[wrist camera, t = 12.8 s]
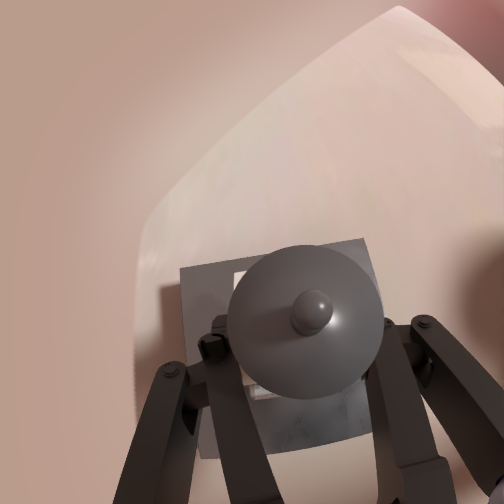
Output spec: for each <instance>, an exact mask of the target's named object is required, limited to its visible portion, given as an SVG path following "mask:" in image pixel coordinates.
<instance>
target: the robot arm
mask: <svg viewBox="0 0 504 504" xmlns="http://www.w3.org/2000/svg"><path fill="white" fill-rule="evenodd" d="M246 272H247V271H243V272H237V273H234V290H235V288H236V286H237V284H238V282H239V281H240V279H241V278H242V276H243V275H244V274H245V273H246ZM211 328H212V329H211V333H208V334H205V335H204V336H202V337H201V338H200V339H199V341H198V344H197V345H198V348H199V351H200V354H201V357H202V359H203V360H202V361H200V362H199V363H196V364H194V365H191V366H187V367H185V365H184V364H183V363H181V362H177V361H173V362H168V363H166V364H163V365H162V366H161V367H160V368H159V369H158V371H157V373H156V375H155V378H154V381H153V383H152V386H151V389H150V392H149V394H148V397H147V400H146V403H145V405H144V408H143V411H142V414H141V417H140V420H139V422H138V425H137V428H136V431H135V434H134V437H133V440H132V443H131V446H130V449H129V452H128V455H127V458H126V461H125V465H124V468H123V471H122V474H121V477H120V480H119V484H118V487H117V490H116V494H115V497H114V500H113V504H188V500H189V493H190V487H191V480H192V473H193V467H194V461H195V454H196V448H197V442H198V435H199V429H200V423H201V417H202V411H203V408H204V407H207V406H210V409H211V414H212V419H213V425H214V430H215V435H216V440H217V445H218V450H219V455H220V459H221V464H222V468H223V473H224V477H225V481H226V486H227V490H228V494H229V498H230V502H231V504H284V501H283V499H282V497H281V494H280V492H279V489H278V486H277V484H276V481H275V478H274V476H273V473H272V470H271V467H270V465H269V462H268V459H267V456H266V453H265V451H264V448H263V445H262V442H261V439H260V436H259V433H258V430H257V427H256V424H255V421H254V418H253V415H252V412H251V409H250V406H249V403H248V400H247V397H246V394H245V390H244V387H243V385H251V384H257V383H256V382H255V381H253V380H252V379H251V378H250V377H249V376H248V375H247V374H246V373H245V372H244V370H243V369H242V368H241V366H240V365H239V363H238V362H237V360H236V358H235V356H234V354H233V352H232V349H231V346H230V343H229V338H228V333H227V314H224V315H217V316H216V317H215V319H214V320H213V321H212V327H211ZM363 379H364V381H365V387H366V393H367V399H368V405H369V411H370V418H371V425H372V432H373V440H374V449H375V458H376V468H377V479H378V500H377V504H457V501H456V495H455V490H454V485H453V480H452V476H451V471H450V467H449V464H448V461H447V459H446V458H445V457H441V456H439V455H438V452H437V449H436V445H435V441H434V437H433V434H432V430H431V426H430V423H429V419H428V416H427V413H426V409H425V406H424V403H423V400H422V397H421V395H422V396H423V398H424V399H425V401H426V402H427V404H428V405H429V407H430V408H431V410H432V411H433V413H434V414H435V416H436V417H437V419H438V420H439V422H440V424H441V425H442V427H443V428H444V430H445V431H446V433H447V435H448V436H449V438H450V439H451V441H452V443H453V444H454V446H455V448H456V449H457V451H458V453H459V454H460V456H461V458H462V459H463V461H464V463H465V464H466V466H467V468H468V469H469V471H470V473H471V475H472V476H473V478H474V480H475V481H476V483H477V484H478V486H479V487H480V488H481V489H482V491H483V492H484V493H485V494H486V495H487V496H488V497H490V498H489V502H488V504H504V390H503V389H502V388H501V387H500V385H499V384H498V383H497V382H496V381H495V380H494V379H493V378H492V376H491V375H490V374H489V373H488V372H487V371H486V370H485V369H484V368H483V367H482V365H481V364H480V363H479V362H478V361H477V360H476V359H475V358H474V357H473V356H472V355H471V354H470V353H469V352H468V351H467V350H466V349H465V348H464V346H463V345H462V344H461V343H460V342H459V341H458V340H457V339H456V338H455V337H454V336H453V335H452V334H451V333H450V332H449V331H448V330H447V329H446V328H445V327H444V326H443V325H442V324H441V323H440V322H438V321H437V320H436V319H435V318H434V317H432V316H429V315H417V316H415V317H414V318H413V319H412V320H411V325H395V324H394V323H393V321H392V320H390V319H388V318H385V317H384V332H383V337H382V342H381V345H380V348H379V350H378V353H377V355H376V357H375V359H374V361H373V362H372V364H371V365H370V367H369V368H368V369H367V371H366V372H365V373H364V374H363V375H362V376H361V380H363ZM242 381H243V384H242ZM420 393H421V394H420Z"/></svg>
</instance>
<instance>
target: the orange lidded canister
mask: <svg viewBox="0 0 504 504" xmlns="http://www.w3.org/2000/svg"><path fill="white" fill-rule="evenodd" d="M383 332H384V312H383V306H382V302H381V299H380V296H379V293H378V291H377V289H376V287H375V285H374V283H373V282H372V280H371V278H370V277H369V276H368V274H367V273H366V272H365V271H364V270H363V269H362V268H361V267H360V266H359V265H358V264H357V263H356V262H354V261H353V260H352V259H350V258H349V257H347V256H345V255H343V254H342V253H340V252H337V251H335V250H332V249H329V248H325V247H321V246H314V245H298V246H291V247H287V248H283V249H280V250H277V251H274V252H272V253H270V254H268V255H266V256H265V257H263V258H262V259H260V260H259V261H257V262H256V263H255V264H254V265H253V266H251V267H250V268H249V269H248V271H247V272H246V273H245V274H244V275H243V276H242V278H241V279H240V281H239V282H238V284H237V286H236V288H235V290H234V291H233V294H232V297H231V299H230V303H229V307H228V312H227V333H228V338H229V343H230V346H231V349H232V352H233V354H234V356H235V358H236V360H237V362H238V363H239V365H240V366H241V368H242V369H243V370H244V372H245V373H246V374H247V375H248V376H249V377H250V378H251V379H252V380H253V381H255V382H256V383H257V384H258V385H260V386H261V387H263V388H265V389H266V390H268V391H270V392H272V393H274V394H277V395H280V396H283V397H287V398H292V399H299V400H310V399H318V398H323V397H327V396H330V395H333V394H335V393H338V392H340V391H342V390H344V389H346V388H347V387H349V386H350V385H352V384H353V383H354V382H356V381H357V380H358V379H359V378H360V377H361V376H362V375H363V374H364V373H365V372H366V371H367V369H368V368H369V367H370V365H371V364H372V362H373V361H374V359H375V357H376V355H377V353H378V350H379V348H380V345H381V342H382V337H383Z"/></svg>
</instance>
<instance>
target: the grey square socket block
mask: <svg viewBox="0 0 504 504" xmlns="http://www.w3.org/2000/svg"><path fill="white" fill-rule="evenodd" d="M319 246H321V247H325V248H329V249H332V250H335V251H337V252H340V253H342V254H343V255H345V256H347V257H349V258H350V259H352V260H353V261H354V262H356V263H357V264H358V265H359V266H360V267H361V268H362V269H363V270H364V271H365V272H366V273H367V274H368V276H369V277H370V278H371V280H372V282H373V283H374V285H375V287H376V289H377V291H378V293H379V296H380V299H381V295H380V291H379V288H378V284H377V281H376V277H375V273H374V270H373V267H372V263H371V260H370V257H369V253H368V250H367V247H366V244H365V241H364V238H360V239H354V240H348V241H342V242H336V243H330V244H325V245H319ZM266 255H268V254H264V255H258V256H252V257H246V258H240V259H234V260H228V261H222V262H216V263H210V264H203V265H197V266H191V267H185V268H180V285H181V301H182V315H183V328H184V340H185V350H186V360H187V366H191V365H194V364H196V363H199V362H200V361H202V360H203V359H202V357H201V354H200V351H199V348H198V345H197V344H198V341H199V339H200V338H201V337H202V336H204V335H205V334H208V333H211V329H212V328H211V327H212V321H213V320H214V319H215V317H216V316H217V315H224V314H227V312H228V307H229V303H230V299H231V297H232V294H233V291H234V273H237V272H243V271H248V269H249V268H250V267H251V266H253V265H254V264H255V263H256V262H257V261H259V260H260V259H262V258H263V257H265V256H266ZM381 302H382V299H381ZM382 306H383V303H382ZM383 312H384V317H385V318H386V315H385V311H384V307H383ZM242 384H243V381H242ZM243 387H244V390H245V394H246V397H247V400H248V403H249V406H250V409H251V412H252V415H253V418H254V421H255V424H256V427H257V430H258V433H259V436H260V439H261V442H262V445H263V448H264V451H265V453H266V455H268V454H276V453H283V452H289V451H295V450H301V449H306V448H311V447H316V446H321V445H326V444H330V443H334V442H338V441H342V440H346V439H350V438H354V437H357V436H361V435H364V434H367V433H371V432H372V425H371V418H370V411H369V405H368V399H367V393H366V387H365V381H364V379H363V380H361V377H360V378H359V379H358V380H357V381H356V382H354V383H353V384H352V385H350V386H349V387H347V388H346V389H344V390H342V391H340V392H338V393H335V394H333V395H330V396H327V397H323V398H318V399H310V400H299V399H292V398H287V397H283V396H280V395H277V394H272V395H266V396H258V397H255V393H254V386H253V384H251V385H243ZM198 446H199V452H200V458H201V459H218V458H220V455H219V450H218V445H217V440H216V435H215V430H214V425H213V419H212V414H211V409H210V406H207V407H204V408H203V411H202V417H201V423H200V429H199V435H198Z"/></svg>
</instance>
